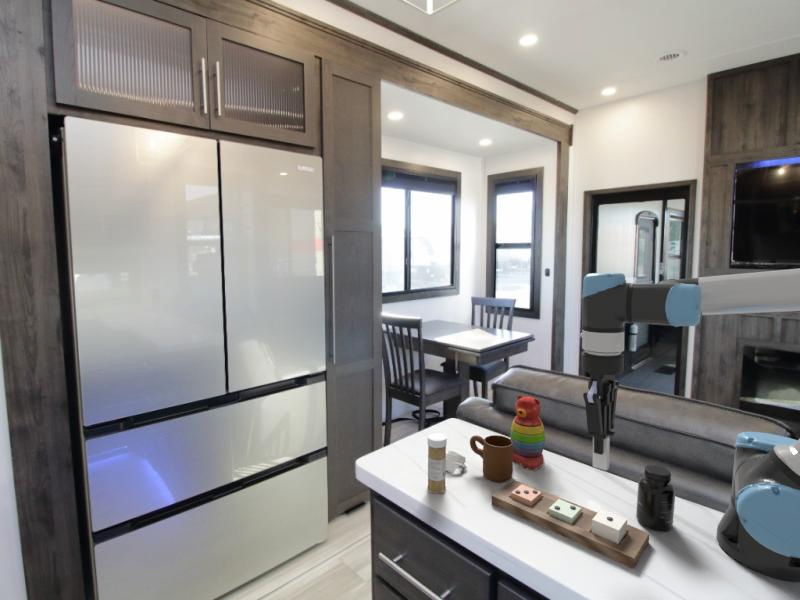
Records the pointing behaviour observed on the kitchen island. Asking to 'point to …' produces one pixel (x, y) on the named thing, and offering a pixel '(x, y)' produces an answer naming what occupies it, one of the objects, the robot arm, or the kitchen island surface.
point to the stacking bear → (528, 433)
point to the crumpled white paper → (454, 461)
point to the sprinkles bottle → (436, 463)
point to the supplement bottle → (656, 499)
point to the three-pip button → (526, 495)
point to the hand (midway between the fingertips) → (600, 467)
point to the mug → (495, 456)
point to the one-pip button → (609, 526)
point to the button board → (574, 525)
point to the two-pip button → (565, 511)
